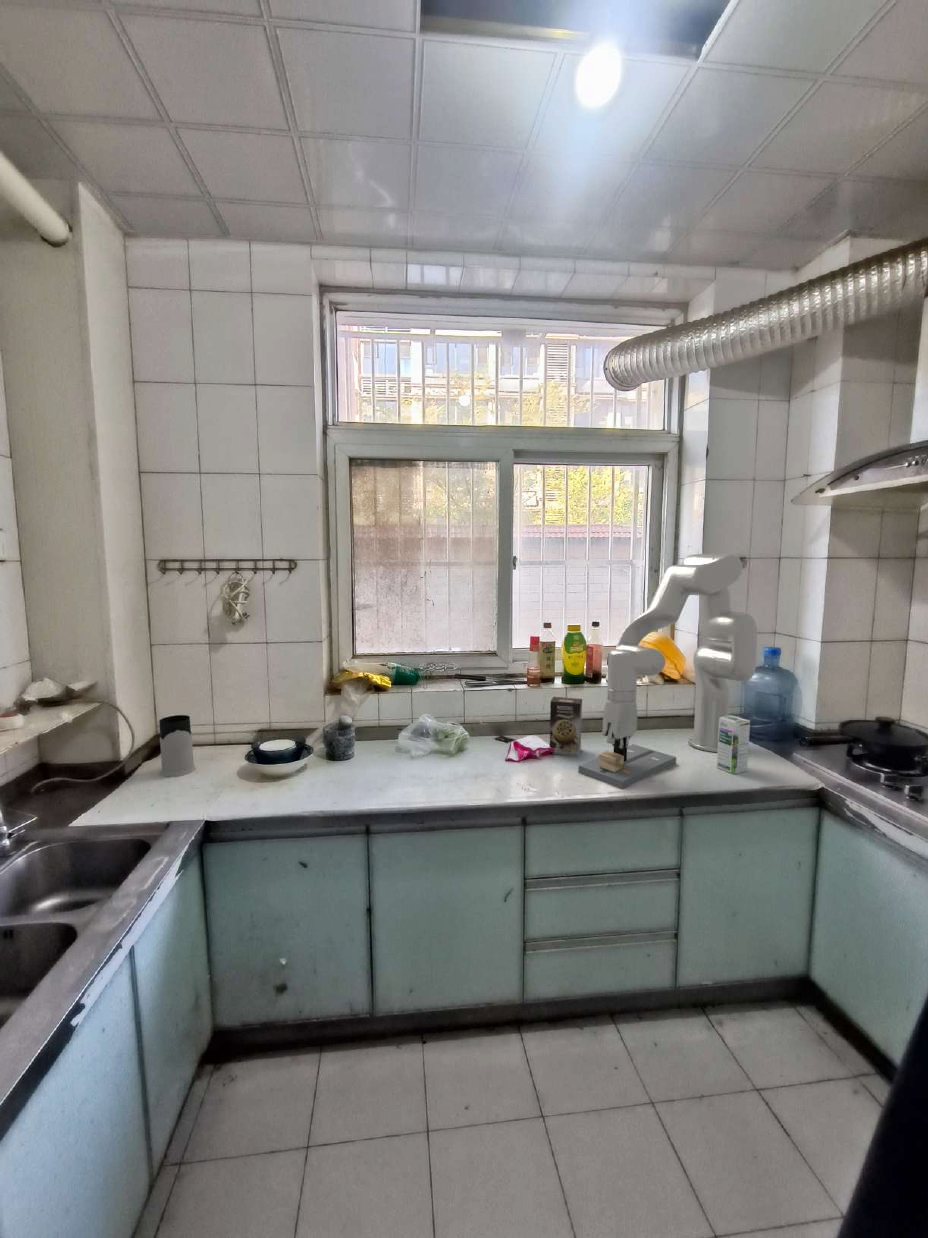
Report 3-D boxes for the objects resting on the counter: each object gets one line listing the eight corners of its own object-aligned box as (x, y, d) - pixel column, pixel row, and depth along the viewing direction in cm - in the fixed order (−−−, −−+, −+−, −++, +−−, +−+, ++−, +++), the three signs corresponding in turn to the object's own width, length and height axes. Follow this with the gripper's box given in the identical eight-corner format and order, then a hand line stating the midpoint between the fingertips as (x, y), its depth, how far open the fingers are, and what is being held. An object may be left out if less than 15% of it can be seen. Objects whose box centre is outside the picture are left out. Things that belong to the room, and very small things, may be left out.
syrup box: (715, 767, 150) (717, 717, 148) (729, 764, 153) (732, 714, 151) (734, 775, 145) (736, 722, 143) (748, 771, 148) (751, 719, 146)
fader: (607, 763, 148) (607, 750, 148) (623, 768, 144) (623, 755, 144) (598, 766, 146) (598, 754, 145) (614, 772, 142) (614, 759, 141)
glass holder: (162, 779, 145) (158, 725, 143) (155, 764, 156) (152, 713, 154) (198, 772, 150) (195, 719, 148) (189, 757, 161) (185, 708, 160)
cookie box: (548, 753, 162) (549, 701, 160) (551, 746, 168) (552, 695, 166) (579, 756, 159) (580, 703, 158) (581, 749, 165) (582, 697, 164)
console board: (632, 750, 164) (633, 743, 164) (676, 763, 153) (676, 756, 153) (578, 772, 147) (578, 765, 147) (622, 789, 137) (622, 781, 136)
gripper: (625, 688, 153) (624, 750, 155) (593, 697, 144) (591, 763, 146) (649, 693, 147) (647, 758, 149) (617, 702, 138) (615, 771, 140)
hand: (619, 760), depth 147 cm, fingers closed
